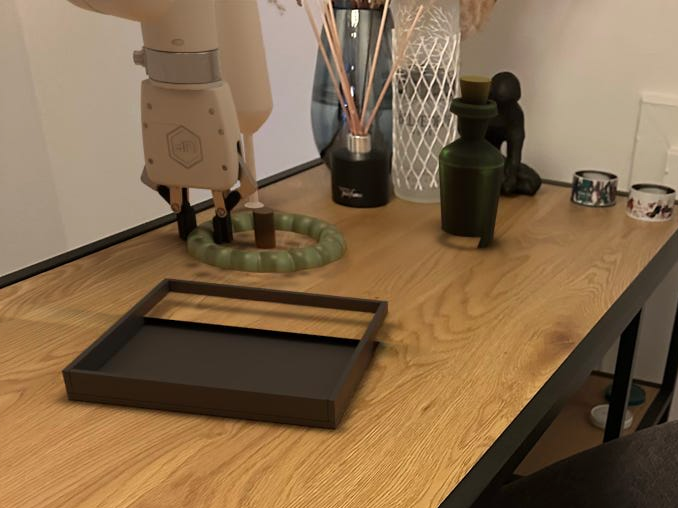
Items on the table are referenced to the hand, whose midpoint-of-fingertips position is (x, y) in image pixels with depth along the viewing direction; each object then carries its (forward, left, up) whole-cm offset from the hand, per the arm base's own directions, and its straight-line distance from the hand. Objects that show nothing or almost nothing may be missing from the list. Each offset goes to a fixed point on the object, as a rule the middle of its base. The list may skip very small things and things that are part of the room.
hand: (207, 246), depth 110 cm
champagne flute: (+1, +15, -1) cm, 15 cm away
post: (+7, 0, -1) cm, 7 cm away
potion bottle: (+29, +14, -1) cm, 32 cm away
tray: (+13, -28, -1) cm, 31 cm away
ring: (+7, 0, +1) cm, 7 cm away
